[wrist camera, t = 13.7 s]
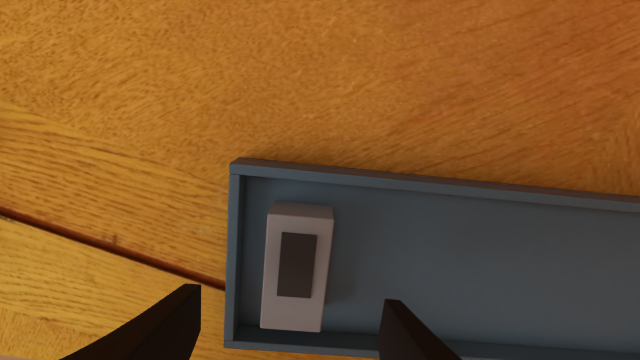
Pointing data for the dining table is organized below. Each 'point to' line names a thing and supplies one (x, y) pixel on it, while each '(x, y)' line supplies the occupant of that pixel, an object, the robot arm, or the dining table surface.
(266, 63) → the dining table surface
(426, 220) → the tray
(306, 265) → the grey block
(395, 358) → the robot arm
